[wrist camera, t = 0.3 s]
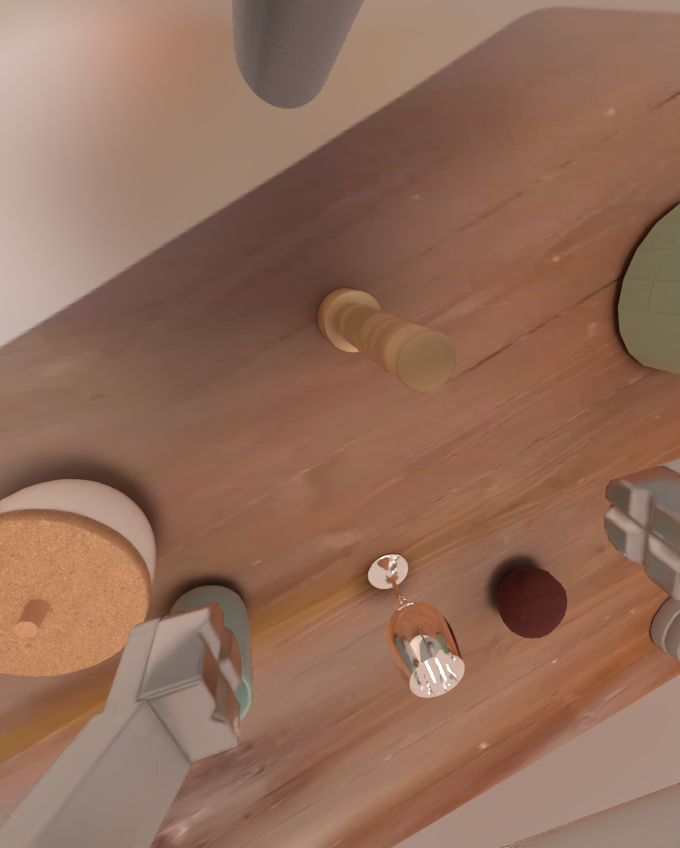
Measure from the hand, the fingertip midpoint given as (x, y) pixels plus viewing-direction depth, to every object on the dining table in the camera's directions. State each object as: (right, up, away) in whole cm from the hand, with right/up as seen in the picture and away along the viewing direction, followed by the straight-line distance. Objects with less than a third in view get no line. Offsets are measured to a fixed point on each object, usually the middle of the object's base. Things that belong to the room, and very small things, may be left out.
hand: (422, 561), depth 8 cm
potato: (+19, -16, +40) cm, 47 cm away
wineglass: (+3, -13, +35) cm, 37 cm away
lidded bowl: (-23, -5, +26) cm, 35 cm away
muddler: (-1, +11, +24) cm, 27 cm away
